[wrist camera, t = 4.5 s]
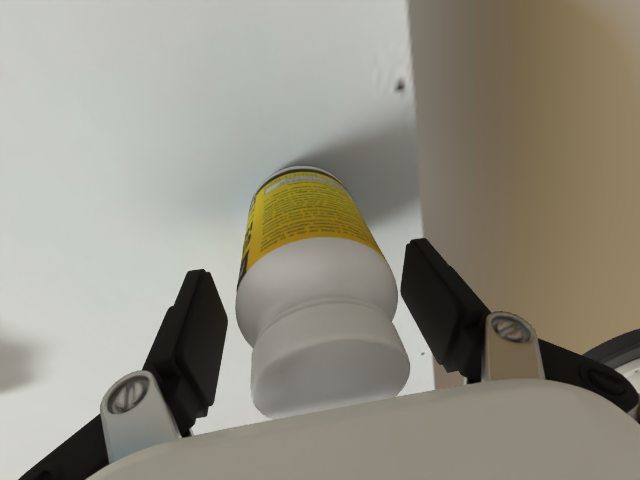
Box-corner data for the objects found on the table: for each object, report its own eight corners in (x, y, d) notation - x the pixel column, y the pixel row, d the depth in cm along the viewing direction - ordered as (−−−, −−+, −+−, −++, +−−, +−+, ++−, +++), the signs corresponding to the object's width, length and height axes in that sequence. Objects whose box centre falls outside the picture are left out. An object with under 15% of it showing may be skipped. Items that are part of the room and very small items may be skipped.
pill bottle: (233, 179, 15) (171, 357, 6) (340, 149, 15) (440, 284, 6) (269, 262, 19) (265, 455, 10) (357, 238, 19) (436, 410, 9)
